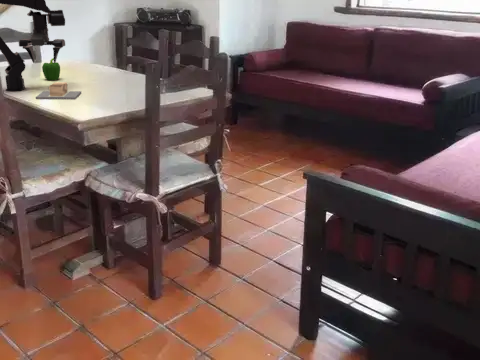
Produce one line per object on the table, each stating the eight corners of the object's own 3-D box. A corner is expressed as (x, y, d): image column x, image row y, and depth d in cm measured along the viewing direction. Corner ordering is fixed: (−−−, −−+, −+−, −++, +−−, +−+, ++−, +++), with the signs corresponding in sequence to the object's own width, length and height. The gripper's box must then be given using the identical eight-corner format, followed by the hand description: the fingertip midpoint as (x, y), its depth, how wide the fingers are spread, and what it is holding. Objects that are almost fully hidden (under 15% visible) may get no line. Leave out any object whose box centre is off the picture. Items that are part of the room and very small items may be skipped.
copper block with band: (55, 91, 235) (54, 81, 233) (67, 91, 235) (66, 81, 234) (50, 96, 227) (49, 86, 225) (62, 96, 227) (61, 86, 225)
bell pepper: (49, 82, 258) (46, 60, 255) (40, 79, 264) (38, 58, 260) (65, 79, 264) (63, 59, 261) (56, 77, 269) (54, 56, 266)
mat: (35, 98, 225) (35, 96, 225) (43, 92, 236) (43, 90, 236) (75, 99, 226) (74, 97, 226) (81, 93, 237) (81, 91, 237)
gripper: (12, 28, 230) (17, 65, 235) (57, 28, 231) (61, 65, 236) (20, 25, 240) (25, 61, 246) (63, 26, 241) (67, 61, 247)
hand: (44, 62), depth 243 cm, fingers open, 9 cm apart
